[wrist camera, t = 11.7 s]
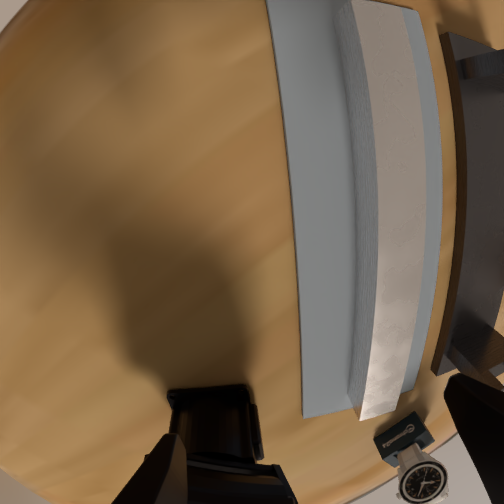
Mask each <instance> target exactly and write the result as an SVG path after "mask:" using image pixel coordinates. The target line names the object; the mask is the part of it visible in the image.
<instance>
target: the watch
mask: <svg viewBox="0 0 504 504" xmlns="http://www.w3.org/2000/svg"><path fill="white" fill-rule="evenodd" d="M373 440H374V442H375V444H376V447H377V449H378V451H379V453H380V455H381V457H382V460H384V461H385V462H387V463H388V464H390V465H391V466H393V467H394V468H395V467H397V466H398V465H399V466H400V468H398V478H399V487H398V490H399V493H397V494H396V495H397V497H398V499H401V498H403V500H404V501H406V502H408V503H410V504H437V503H439V502H440V501H442V500H444V499H445V498H446V497H448V494H447V492H448V481H447V480H448V473H447V471H446V468H445V467H444V465H442V464H441V463H440V462H439V461H437V460H435V459H434V458H432V457H431V456H430V455H428V454H427V453H426V452H422V450H423V449H424V448H426V447H427V446H429V445H430V444H431V443H433V442H434V441H435V440H434V439H433V437H432V435H431V434H430V432H429V430H428V429H427V427H426V426H425V424H424V423H423V421H422V420H421V419H420V417H419V416H418V415H417V413H416V412H415V411H414V412H413V413H411V414H410V415H409V416H407V417H406V418H405V419H403V420H402V421H400V422H399V423H397V424H396V425H395V426H393V427H392V428H390V429H389V430H387V431H386V432H384V433H383V434H381V435H379V436H378V437H376V438H375V439H373Z"/></svg>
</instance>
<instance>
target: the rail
mask: <svg viewBox="0 0 504 504" xmlns="http://www.w3.org/2000/svg"><path fill="white" fill-rule="evenodd" d="M332 21H333V26H334V31H335V36H336V41H337V46H338V51H339V57H340V63H341V69H342V75H343V82H344V88H345V96H346V103H347V111H348V120H349V129H350V139H351V150H352V163H353V177H354V196H355V224H356V281H355V309H354V328H353V342H352V355H351V366H350V376H349V385H348V394H347V395H348V398H349V400H350V402H351V404H352V406H353V409H354V411H355V413H356V415H357V417H358V420H359V421H362V420H366V419H369V418H372V417H376V416H379V415H382V414H385V413H388V412H391V411H394V410H395V409H396V406H397V402H398V399H399V395H400V391H401V388H402V384H403V380H404V376H405V372H406V367H407V363H408V359H409V354H410V349H411V344H412V339H413V334H414V329H415V323H416V317H417V310H418V304H419V296H420V289H421V280H422V271H423V260H424V247H425V229H426V161H425V144H424V131H423V121H422V111H421V103H420V96H419V89H418V83H417V77H416V71H415V65H414V60H413V55H412V50H411V46H410V41H409V37H408V33H407V29H406V25H405V21H404V18H403V14H402V10H401V7H396V6H392V5H387V4H382V3H377V2H371V1H365V0H348V1H347V3H346V4H345V5H344V6H343V7H342V8H341V9H340V10H339V12H338V13H337V14H336V15H335V16H334V17H333V19H332Z"/></svg>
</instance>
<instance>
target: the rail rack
mask: <svg viewBox="0 0 504 504" xmlns="http://www.w3.org/2000/svg"><path fill="white" fill-rule="evenodd" d="M439 37H440V41H441V45H442V50H443V54H444V59H445V64H446V69H447V74H448V80H449V86H450V92H451V99H452V107H453V116H454V126H455V138H456V155H457V212H456V229H455V242H454V252H453V261H452V269H451V277H450V283H449V290H448V296H447V301H446V307H445V312H444V317H443V322H442V326H441V331H440V335H439V339H438V343H437V347H436V351H435V355H434V359H433V362H432V366H431V370H432V372H433V373H434V374H435V375H436V376H439V375H442V374H444V373H446V372H449V371H451V370H454V369H456V368H457V369H458V370H459V371H460V372H461V373H462V374H464V375H467V376H469V377H471V378H473V379H476V380H478V381H480V382H482V383H485V384H487V385H489V386H492V387H494V388H496V389H499V390H501V391H504V386H503V385H502V384H501V383H500V381H499V380H498V379H497V378H496V376H498V375H500V374H502V373H503V372H504V337H503V336H502V335H501V334H499V333H498V332H497V331H496V330H495V329H494V326H495V322H496V319H497V315H498V312H499V308H500V304H501V300H502V296H503V291H504V49H502V50H495V49H493V48H491V47H488V46H486V45H483V44H481V43H478V42H476V41H473V40H471V39H468V38H465V37H462V36H460V35H457V34H454V33H451V32H446V33H444V34H441V35H439Z"/></svg>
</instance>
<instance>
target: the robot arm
mask: <svg viewBox="0 0 504 504" xmlns="http://www.w3.org/2000/svg"><path fill="white" fill-rule="evenodd" d="M240 390H243V391H240ZM171 395H173V396H171ZM444 399H445V402H446V404H447V407H448V409H449V411H450V414H451V416H452V419H453V421H454V424H455V426H456V429H457V431H458V433H459V435H460V437H461V439H462V441H463V443H464V445H465V447H466V449H467V451H468V453H469V455H470V457H471V459H472V461H473V463H474V465H475V467H476V469H477V471H478V473H479V475H480V478H481V480H482V482H483V484H484V487H485V489H486V491H487V493H488V496H489V498H490V500H491V503H492V504H504V392H503V391H501V390H499V389H496V388H494V387H492V386H489V385H487V384H485V383H482V382H480V381H478V380H476V379H473V378H471V377H469V376H467V375H464V374H462V373H457V374H454V375H452V376H450V378H449V379H448V382H447V385H446V388H445V390H444ZM167 400H168V402H169V404H170V407H171V409H172V415H171V421H170V427H169V433H167V434H164V435H163V436H162V438H161V439H160V440H159V442H158V443H157V444H156V446H155V447H154V448H153V450H152V451H151V452H150V454H146V455H145V458H144V462H143V463H142V464H141V466H140V467H139V468H138V470H137V471H136V472H135V474H134V475H133V476H132V478H131V479H130V480H129V481H128V483H127V484H126V485H125V487H124V488H123V489H122V491H121V492H120V493H119V494H118V496H117V497H116V498H115V499H114V501H113V502H112V503H111V504H298V502H297V499H296V497H295V495H294V493H293V491H292V489H291V487H290V485H289V483H288V481H287V479H286V477H285V475H284V473H283V471H282V469H281V467H280V465H276V464H272V465H263V464H257V461H258V460H262V459H263V458H264V452H263V445H262V437H261V429H260V422H259V416H258V410H257V406H256V405H255V404H251V402H250V397H249V391H248V387H247V386H246V385H244V384H238V385H229V386H219V387H208V388H195V389H178V390H169V391H168V392H167Z"/></svg>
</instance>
